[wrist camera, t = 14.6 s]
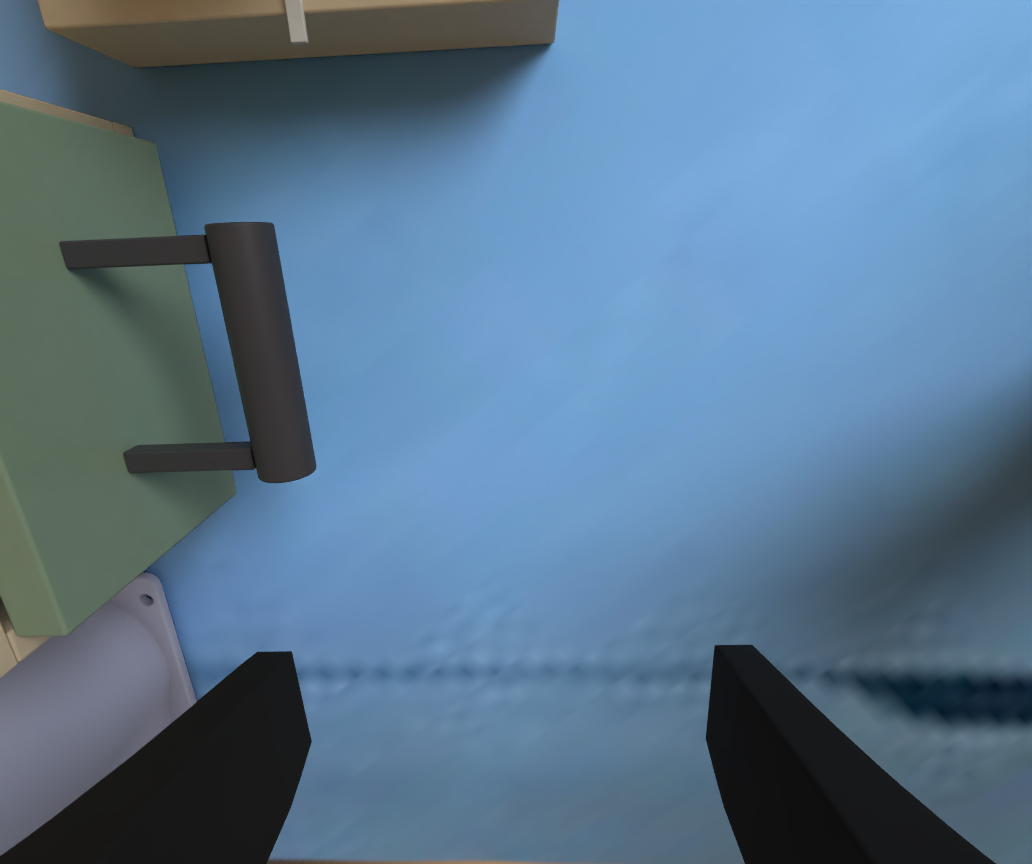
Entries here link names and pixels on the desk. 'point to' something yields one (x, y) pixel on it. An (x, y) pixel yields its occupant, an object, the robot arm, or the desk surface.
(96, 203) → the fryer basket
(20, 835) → the robot arm
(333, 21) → the block
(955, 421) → the desk surface
